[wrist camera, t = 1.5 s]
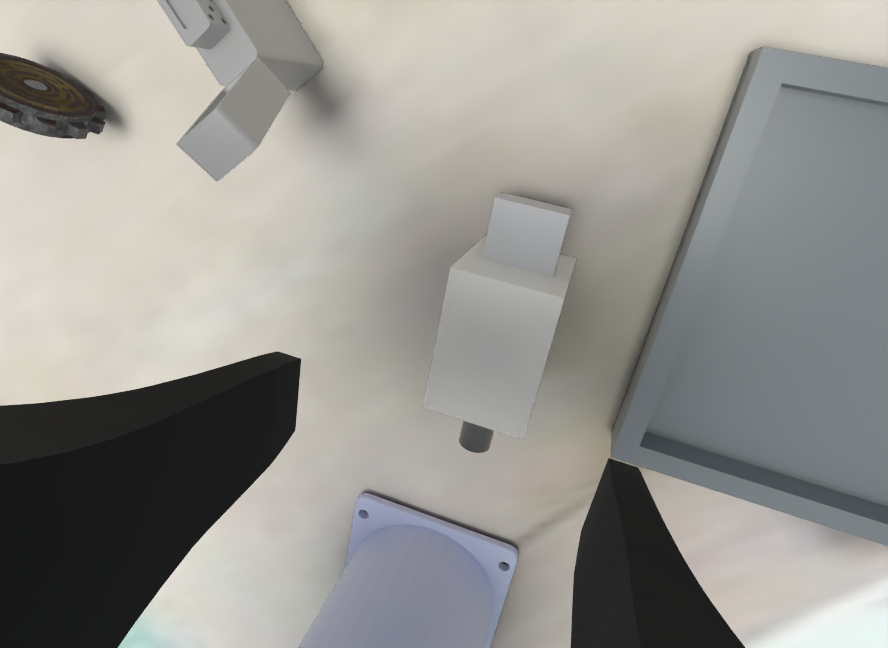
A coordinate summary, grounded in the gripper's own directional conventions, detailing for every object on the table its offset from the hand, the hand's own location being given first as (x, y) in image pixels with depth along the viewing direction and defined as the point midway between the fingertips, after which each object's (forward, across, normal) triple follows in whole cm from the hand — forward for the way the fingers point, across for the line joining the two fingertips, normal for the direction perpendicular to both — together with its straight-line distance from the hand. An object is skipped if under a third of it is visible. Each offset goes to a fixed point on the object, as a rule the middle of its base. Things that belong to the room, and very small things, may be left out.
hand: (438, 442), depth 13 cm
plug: (+10, 0, +1) cm, 11 cm away
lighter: (+11, +10, -6) cm, 16 cm away
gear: (+11, +20, -3) cm, 23 cm away
